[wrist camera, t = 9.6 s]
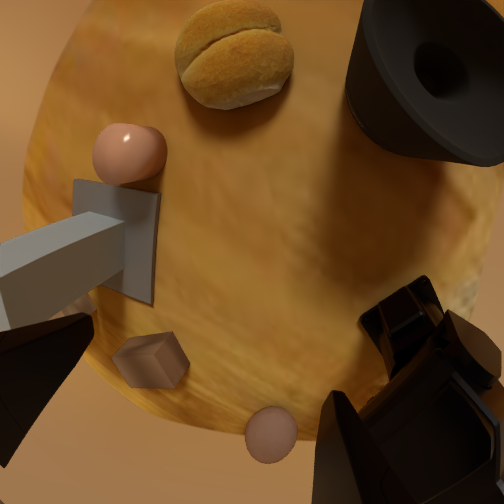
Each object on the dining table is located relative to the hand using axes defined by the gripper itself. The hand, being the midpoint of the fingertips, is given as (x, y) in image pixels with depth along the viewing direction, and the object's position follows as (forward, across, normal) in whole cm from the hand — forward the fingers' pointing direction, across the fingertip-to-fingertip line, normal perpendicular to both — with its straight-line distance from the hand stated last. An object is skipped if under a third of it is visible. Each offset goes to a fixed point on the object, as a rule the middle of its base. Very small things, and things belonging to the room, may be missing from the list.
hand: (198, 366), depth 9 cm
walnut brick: (+13, +8, +14) cm, 21 cm away
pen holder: (+13, -8, -13) cm, 20 cm away
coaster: (+13, +14, +2) cm, 19 cm away
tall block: (+13, +14, +2) cm, 19 cm away
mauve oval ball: (+13, -5, +17) cm, 22 cm away
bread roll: (+14, +4, -14) cm, 20 cm away
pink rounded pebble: (+13, +11, -6) cm, 18 cm away
